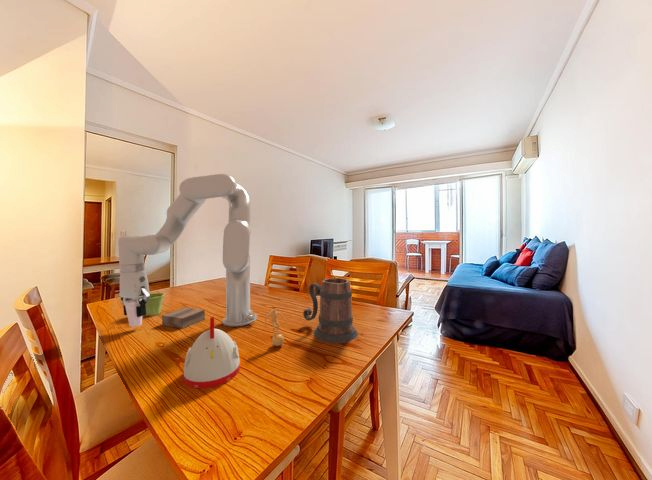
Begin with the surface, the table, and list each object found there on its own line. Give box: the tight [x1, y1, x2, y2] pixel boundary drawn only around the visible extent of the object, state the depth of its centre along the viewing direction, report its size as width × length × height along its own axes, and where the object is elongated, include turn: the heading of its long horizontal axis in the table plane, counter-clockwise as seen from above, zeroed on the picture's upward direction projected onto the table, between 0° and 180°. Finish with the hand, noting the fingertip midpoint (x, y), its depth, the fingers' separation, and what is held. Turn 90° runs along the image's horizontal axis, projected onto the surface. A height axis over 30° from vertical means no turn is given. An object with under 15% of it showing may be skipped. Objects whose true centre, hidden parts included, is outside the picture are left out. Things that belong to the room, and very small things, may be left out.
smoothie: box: [124, 299, 143, 328], centre depth 97 cm, size 6×6×14 cm
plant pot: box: [139, 292, 166, 317], centre depth 115 cm, size 9×9×9 cm
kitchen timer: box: [183, 316, 241, 389], centre depth 68 cm, size 14×14×15 cm
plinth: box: [161, 307, 206, 329], centre depth 106 cm, size 11×11×4 cm
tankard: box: [302, 277, 359, 344], centre depth 97 cm, size 24×17×20 cm
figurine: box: [264, 308, 287, 347], centre depth 85 cm, size 8×6×12 cm
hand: (135, 314), depth 97 cm, fingers closed on smoothie, 6 cm apart
